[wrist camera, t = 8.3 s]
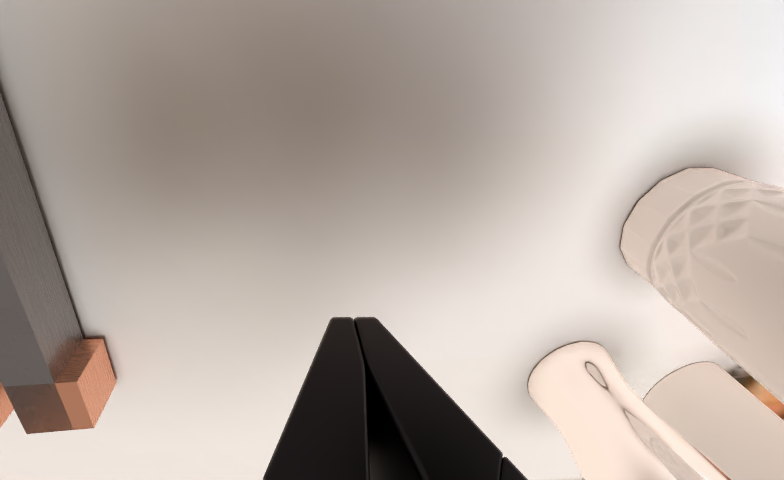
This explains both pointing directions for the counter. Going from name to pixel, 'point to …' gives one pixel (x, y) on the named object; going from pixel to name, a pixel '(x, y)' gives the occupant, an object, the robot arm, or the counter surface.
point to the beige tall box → (722, 420)
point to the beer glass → (611, 421)
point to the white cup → (717, 262)
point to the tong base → (4, 406)
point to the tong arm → (41, 315)
